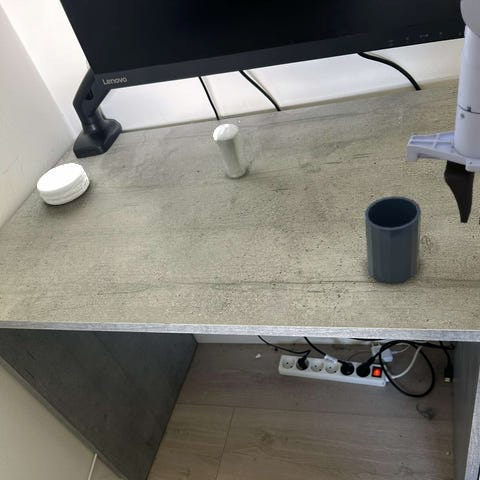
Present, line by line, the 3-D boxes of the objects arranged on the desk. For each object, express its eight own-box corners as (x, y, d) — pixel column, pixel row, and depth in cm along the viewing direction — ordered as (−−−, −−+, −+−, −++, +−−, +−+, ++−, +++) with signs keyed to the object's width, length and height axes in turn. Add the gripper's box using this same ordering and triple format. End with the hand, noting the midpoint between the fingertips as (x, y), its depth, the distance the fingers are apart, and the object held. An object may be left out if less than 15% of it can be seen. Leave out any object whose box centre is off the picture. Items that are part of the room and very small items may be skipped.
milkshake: (249, 179, 88) (235, 127, 80) (222, 180, 90) (206, 129, 82) (256, 165, 90) (244, 113, 83) (229, 166, 92) (215, 116, 85)
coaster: (86, 171, 105) (78, 156, 102) (93, 192, 98) (85, 177, 96) (42, 190, 104) (33, 176, 101) (47, 212, 97) (38, 197, 95)
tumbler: (413, 247, 67) (415, 192, 60) (422, 280, 62) (425, 224, 56) (365, 254, 68) (362, 201, 61) (371, 286, 64) (367, 233, 57)
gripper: (398, 120, 46) (398, 233, 55) (582, 122, 39) (545, 251, 49) (418, 83, 49) (414, 196, 59) (589, 80, 43) (553, 207, 52)
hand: (474, 218), depth 54 cm, fingers closed
